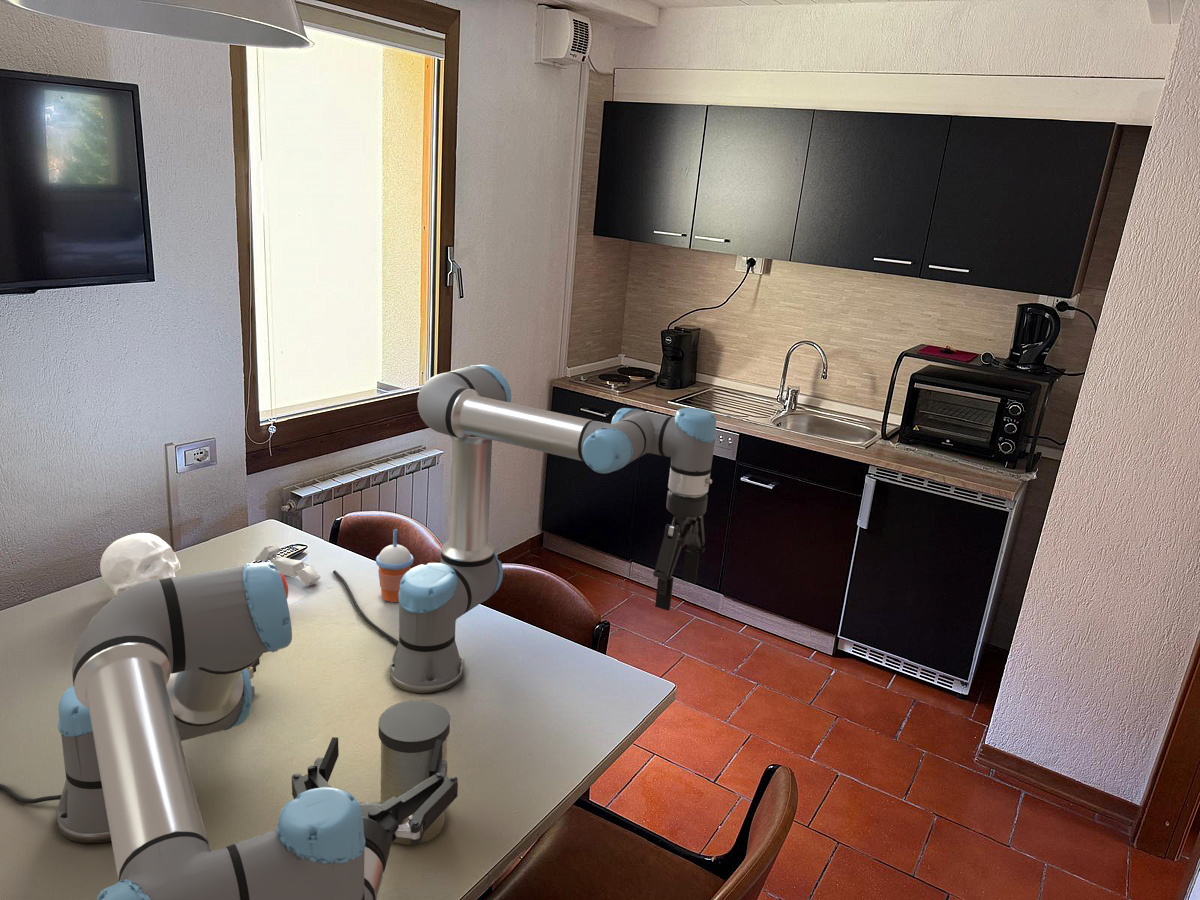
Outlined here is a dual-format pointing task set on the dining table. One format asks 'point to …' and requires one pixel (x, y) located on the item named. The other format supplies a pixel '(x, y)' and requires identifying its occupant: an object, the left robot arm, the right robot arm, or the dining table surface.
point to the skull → (137, 561)
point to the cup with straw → (393, 568)
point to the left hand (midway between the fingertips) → (387, 747)
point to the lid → (413, 726)
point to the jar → (408, 781)
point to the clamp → (289, 565)
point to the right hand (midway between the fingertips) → (676, 594)
